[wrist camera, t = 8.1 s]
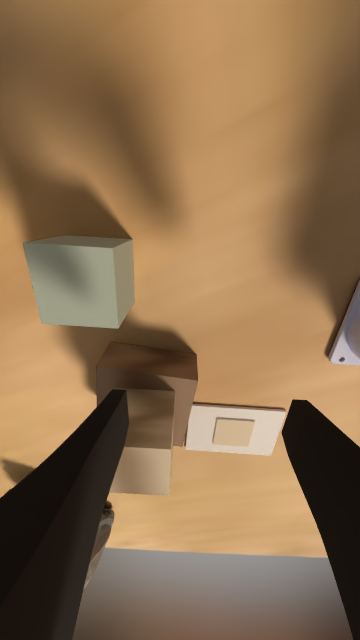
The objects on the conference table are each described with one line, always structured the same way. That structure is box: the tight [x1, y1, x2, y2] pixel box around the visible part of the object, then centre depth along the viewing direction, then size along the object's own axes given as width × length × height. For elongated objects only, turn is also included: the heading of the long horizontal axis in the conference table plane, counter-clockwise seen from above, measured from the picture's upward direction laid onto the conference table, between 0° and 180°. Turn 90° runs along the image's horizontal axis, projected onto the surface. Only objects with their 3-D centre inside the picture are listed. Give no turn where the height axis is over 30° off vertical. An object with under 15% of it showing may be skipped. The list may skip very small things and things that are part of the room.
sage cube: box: [23, 235, 135, 329], centre depth 16 cm, size 5×5×5 cm
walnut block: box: [96, 342, 198, 447], centre depth 21 cm, size 8×8×4 cm
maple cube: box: [109, 388, 175, 496], centre depth 17 cm, size 5×5×5 cm
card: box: [186, 404, 286, 455], centre depth 25 cm, size 10×7×1 cm
